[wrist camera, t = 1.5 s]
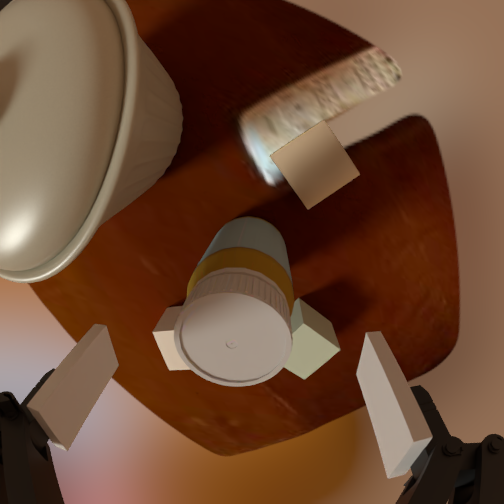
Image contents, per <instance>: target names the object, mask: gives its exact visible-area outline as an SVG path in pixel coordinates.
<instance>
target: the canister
mask: <svg viewBox="0 0 504 504" xmlns="http://www.w3.org/2000/svg"><path fill="white" fill-rule="evenodd" d="M182 121H183V115H182V104H181V103H180V96H179V93H178V91H177V90H176V89H175V84H174V82H173V81H172V79H171V78H170V76H169V75H168V73H167V72H166V70H165V69H164V68H163V66H162V65H161V64H160V62H159V61H158V59H157V58H156V57H155V55H154V54H153V53H152V51H151V50H150V49H149V48H148V46H147V45H146V44H145V43H144V41H143V40H142V39H141V38H140V36H139V35H138V32H137V28H136V24H135V21H134V18H133V15H132V13H131V10H130V8H129V6H128V4H127V3H126V1H125V0H12V1H11V2H10V3H9V4H8V5H7V6H5V7H4V8H3V9H2V10H1V11H0V277H2V278H4V279H7V280H10V281H13V282H18V283H33V282H38V281H42V280H45V279H47V278H50V277H52V276H53V275H55V274H57V273H58V272H60V271H61V270H63V269H64V268H66V267H67V266H68V265H69V264H70V263H71V262H72V261H73V260H74V259H75V258H76V257H77V256H78V255H79V254H80V253H81V252H82V251H83V249H84V248H85V247H86V246H87V244H88V243H89V241H90V240H91V239H92V237H93V235H94V234H95V232H96V231H97V229H98V227H99V226H100V225H102V224H103V223H104V222H106V221H107V220H108V219H110V218H111V217H112V216H114V215H115V214H116V213H118V212H119V211H121V210H122V209H123V208H125V207H126V206H127V205H129V204H130V203H131V202H133V201H134V200H135V199H136V198H138V197H139V196H140V195H141V194H143V193H144V192H145V191H146V190H148V189H149V188H150V187H152V186H153V185H154V184H155V183H156V181H157V180H158V178H160V177H161V176H162V175H163V174H164V172H165V170H166V168H167V167H168V166H169V165H170V164H171V161H172V159H173V157H174V155H175V154H176V152H177V147H178V145H179V143H180V137H181V133H182V131H183V128H182Z"/></svg>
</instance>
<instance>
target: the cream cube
mask: <svg viewBox="0 0 504 504" xmlns="http://www.w3.org/2000/svg"><path fill="white" fill-rule="evenodd" d="M181 308H182V306H177V307H168V308H167V309H166V310H165V312H164V314H163V315H162V317H161V319H160V320H159V322H158V324H157V325H156V327H155V329H154V330H153V334H154V337H155V339H156V341H157V344H158V346H159V348H160V351H161V353H162V355H163V358H164V360H165V362H166V364H167V366H168V368H169V370H188V369H190V368H189V367H188V366H187V365H186V364H185V363H184V361H183V360H182V359H181V357H180V355H179V354H178V352H177V349H176V346H175V342H174V326H175V321H176V319H177V316H178V314H179V312H180V310H181Z"/></svg>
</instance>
